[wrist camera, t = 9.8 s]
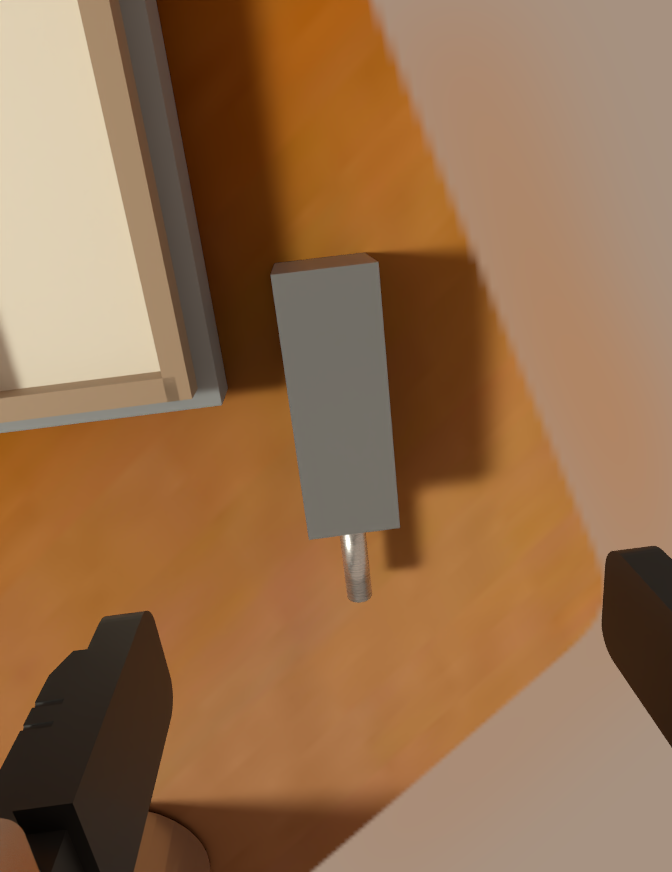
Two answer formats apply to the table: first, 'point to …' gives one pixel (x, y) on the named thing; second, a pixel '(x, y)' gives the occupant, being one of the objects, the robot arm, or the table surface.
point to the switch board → (96, 223)
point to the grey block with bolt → (339, 402)
